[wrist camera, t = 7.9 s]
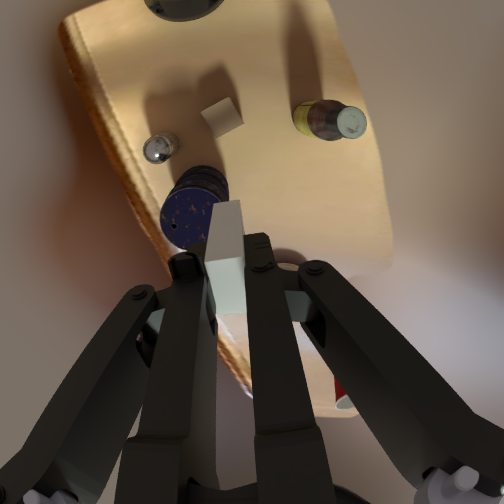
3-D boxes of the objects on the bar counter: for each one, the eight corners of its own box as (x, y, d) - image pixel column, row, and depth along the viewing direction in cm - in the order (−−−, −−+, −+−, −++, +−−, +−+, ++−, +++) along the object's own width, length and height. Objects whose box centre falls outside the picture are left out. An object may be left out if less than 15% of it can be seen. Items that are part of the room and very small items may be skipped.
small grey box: (204, 111, 47) (200, 112, 41) (229, 97, 46) (228, 96, 41) (217, 134, 49) (215, 138, 44) (242, 121, 48) (244, 123, 43)
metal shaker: (151, 135, 48) (136, 141, 40) (175, 129, 48) (165, 134, 40) (156, 158, 50) (143, 169, 42) (180, 153, 50) (170, 162, 42)
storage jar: (221, 158, 51) (217, 178, 38) (235, 207, 56) (236, 242, 42) (169, 173, 52) (148, 199, 38) (186, 221, 56) (172, 259, 43)
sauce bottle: (307, 141, 50) (346, 162, 33) (284, 116, 48) (313, 122, 30) (332, 118, 48) (383, 129, 31) (310, 93, 46) (353, 89, 29)
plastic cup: (328, 385, 85) (336, 415, 74) (323, 367, 80) (333, 399, 69) (360, 374, 84) (371, 403, 73) (358, 355, 79) (371, 386, 68)
